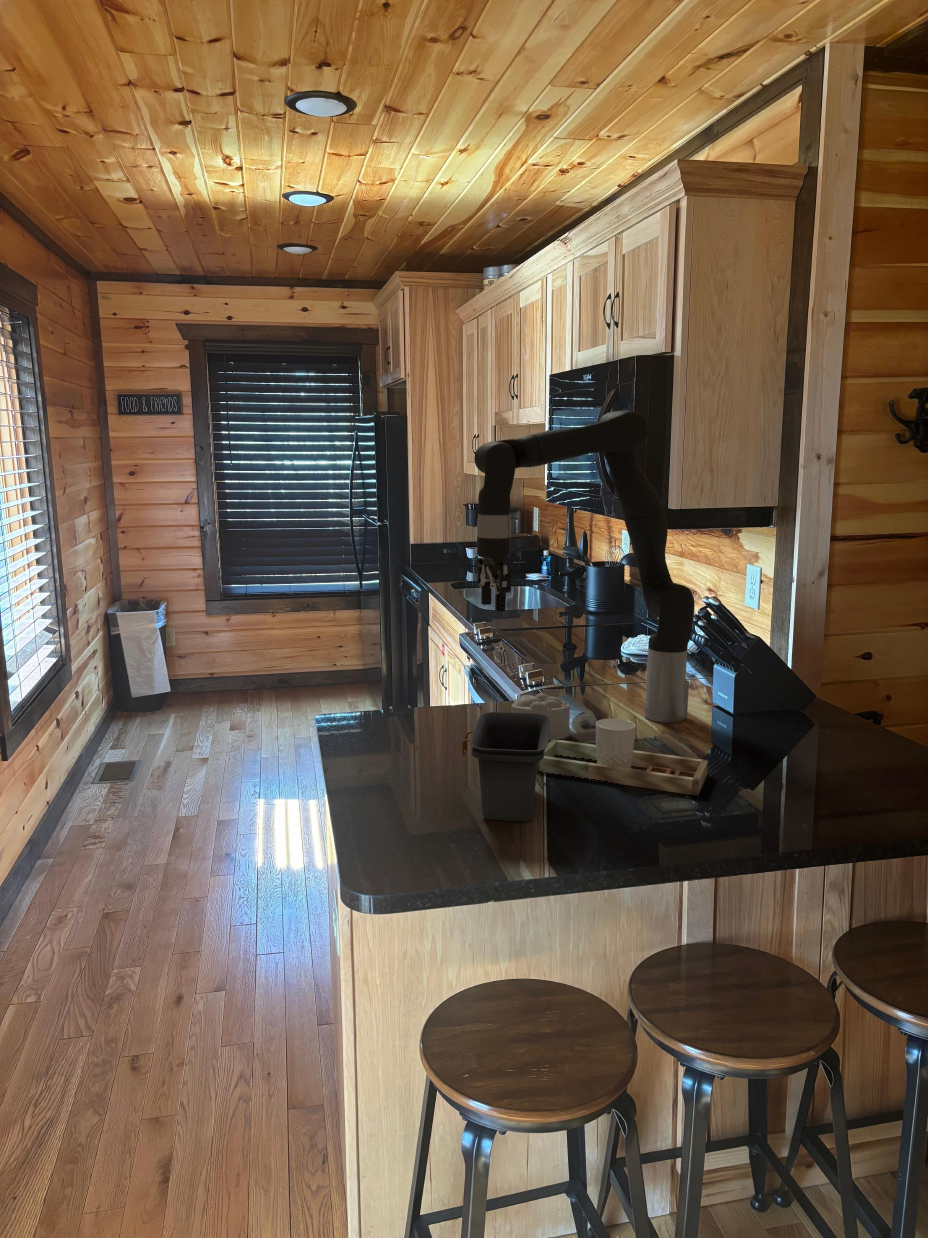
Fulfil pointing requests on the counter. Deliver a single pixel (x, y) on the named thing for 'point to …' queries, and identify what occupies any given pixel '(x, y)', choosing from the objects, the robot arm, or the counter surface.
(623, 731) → the white cup
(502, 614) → the counter surface
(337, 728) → the counter surface
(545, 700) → the lumpy-topped squat cylinder
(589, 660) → the counter surface
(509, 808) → the storage bin
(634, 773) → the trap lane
